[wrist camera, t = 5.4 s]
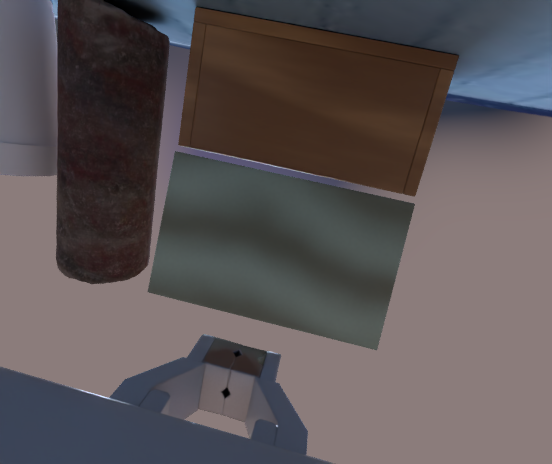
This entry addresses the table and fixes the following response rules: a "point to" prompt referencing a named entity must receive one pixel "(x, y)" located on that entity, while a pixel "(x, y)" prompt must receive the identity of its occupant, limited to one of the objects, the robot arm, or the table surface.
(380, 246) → the pale green flat panel
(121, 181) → the dark brown rough cylinder
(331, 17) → the table surface
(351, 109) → the box
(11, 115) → the foam cup
